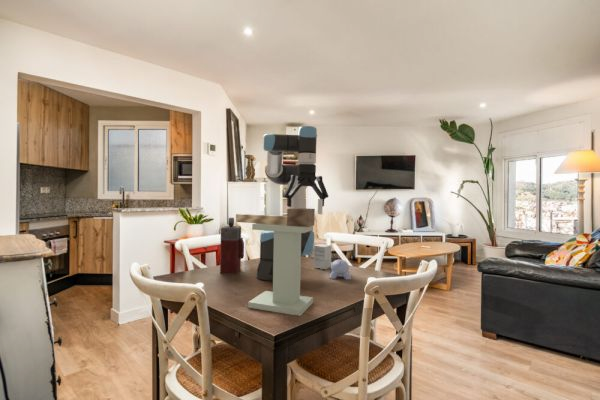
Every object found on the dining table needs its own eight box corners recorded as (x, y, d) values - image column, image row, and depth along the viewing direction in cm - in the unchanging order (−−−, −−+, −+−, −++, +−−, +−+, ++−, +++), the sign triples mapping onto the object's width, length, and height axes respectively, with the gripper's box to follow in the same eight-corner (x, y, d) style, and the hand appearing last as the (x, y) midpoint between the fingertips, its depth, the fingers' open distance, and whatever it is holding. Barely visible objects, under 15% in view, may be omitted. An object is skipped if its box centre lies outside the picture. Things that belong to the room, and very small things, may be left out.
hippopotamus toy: (350, 273, 165) (350, 255, 165) (351, 281, 150) (352, 261, 150) (329, 272, 166) (330, 254, 166) (328, 280, 151) (329, 260, 151)
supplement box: (320, 265, 181) (320, 243, 181) (331, 267, 177) (331, 245, 176) (313, 267, 175) (313, 245, 175) (324, 270, 171) (325, 246, 170)
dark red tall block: (242, 273, 159) (243, 218, 159) (220, 273, 159) (220, 218, 158) (244, 269, 168) (245, 217, 168) (223, 269, 168) (224, 216, 167)
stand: (248, 307, 114) (249, 224, 113) (265, 295, 127) (266, 221, 126) (300, 316, 107) (302, 227, 106) (312, 302, 120) (314, 224, 119)
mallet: (233, 222, 119) (233, 206, 119) (242, 220, 126) (242, 205, 126) (308, 227, 109) (308, 209, 109) (314, 225, 116) (314, 208, 115)
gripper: (282, 162, 124) (281, 215, 125) (337, 165, 134) (335, 214, 135) (275, 163, 130) (274, 214, 131) (328, 165, 141) (327, 213, 142)
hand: (305, 214), depth 133 cm, fingers open, 13 cm apart
